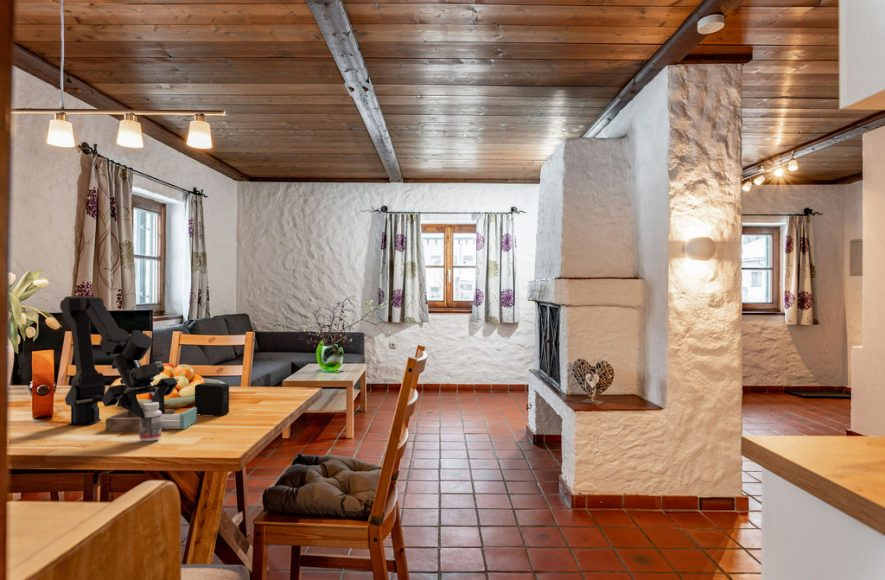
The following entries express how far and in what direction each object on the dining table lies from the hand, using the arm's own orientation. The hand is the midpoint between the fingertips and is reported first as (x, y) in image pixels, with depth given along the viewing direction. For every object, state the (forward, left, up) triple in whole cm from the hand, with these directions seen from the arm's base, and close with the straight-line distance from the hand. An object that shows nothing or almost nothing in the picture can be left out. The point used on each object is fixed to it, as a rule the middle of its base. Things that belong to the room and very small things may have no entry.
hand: (153, 415), depth 149 cm
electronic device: (+4, +32, -7) cm, 33 cm away
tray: (-3, +17, -7) cm, 18 cm away
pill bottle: (-1, +1, -7) cm, 7 cm away
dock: (-12, +17, -7) cm, 21 cm away
